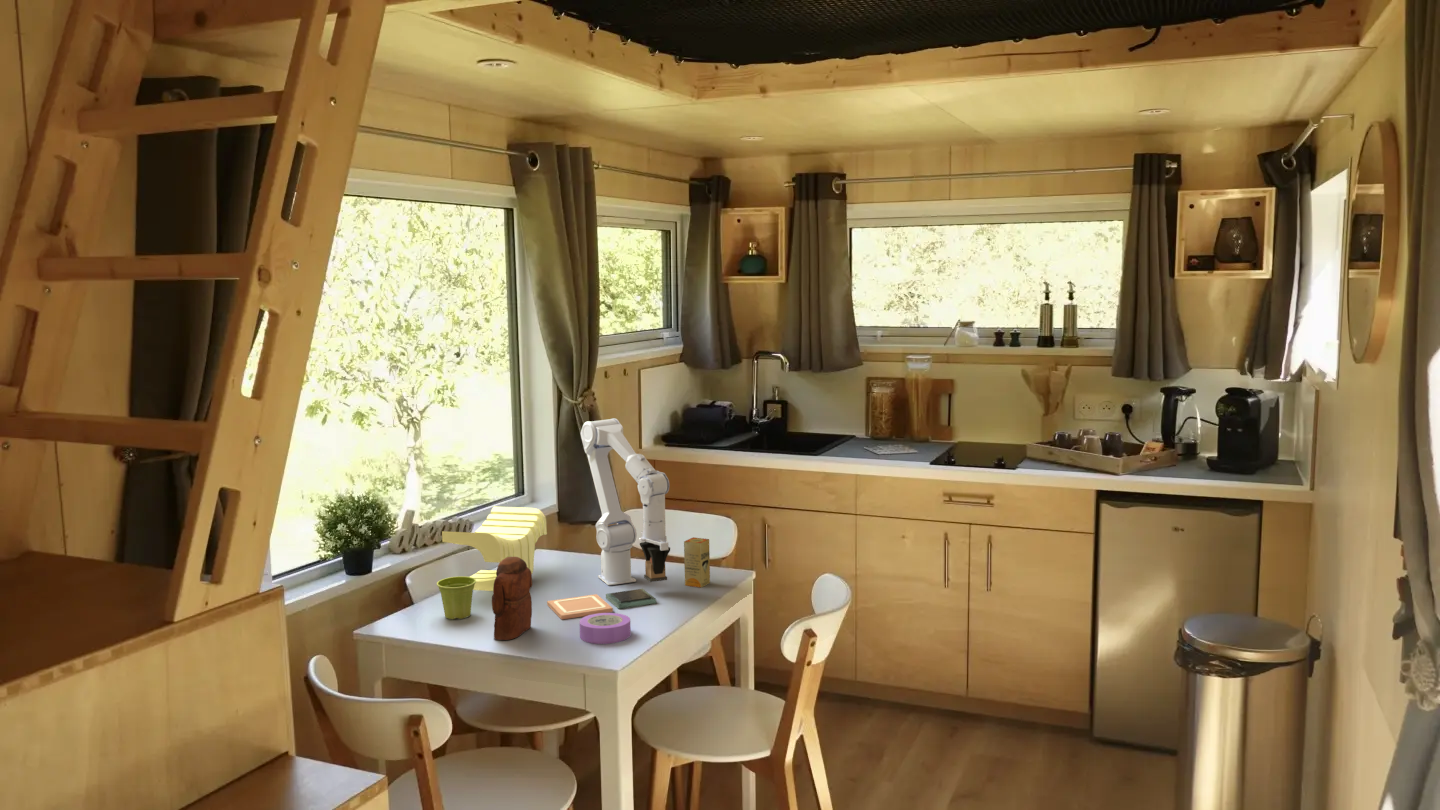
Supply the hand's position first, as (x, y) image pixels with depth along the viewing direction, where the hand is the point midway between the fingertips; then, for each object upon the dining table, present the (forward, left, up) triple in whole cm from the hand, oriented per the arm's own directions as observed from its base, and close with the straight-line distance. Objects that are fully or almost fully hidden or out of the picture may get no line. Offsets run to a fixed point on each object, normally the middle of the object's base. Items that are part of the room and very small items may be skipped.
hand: (655, 571), depth 278 cm
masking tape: (+25, -22, -6) cm, 34 cm away
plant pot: (-5, -50, -6) cm, 51 cm away
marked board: (+3, -21, -6) cm, 23 cm away
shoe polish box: (-3, +13, -6) cm, 15 cm away
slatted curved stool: (-28, -35, -6) cm, 45 cm away
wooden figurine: (+14, -41, -6) cm, 44 cm away
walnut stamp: (0, 0, -2) cm, 2 cm away
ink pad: (+3, -8, -6) cm, 10 cm away
